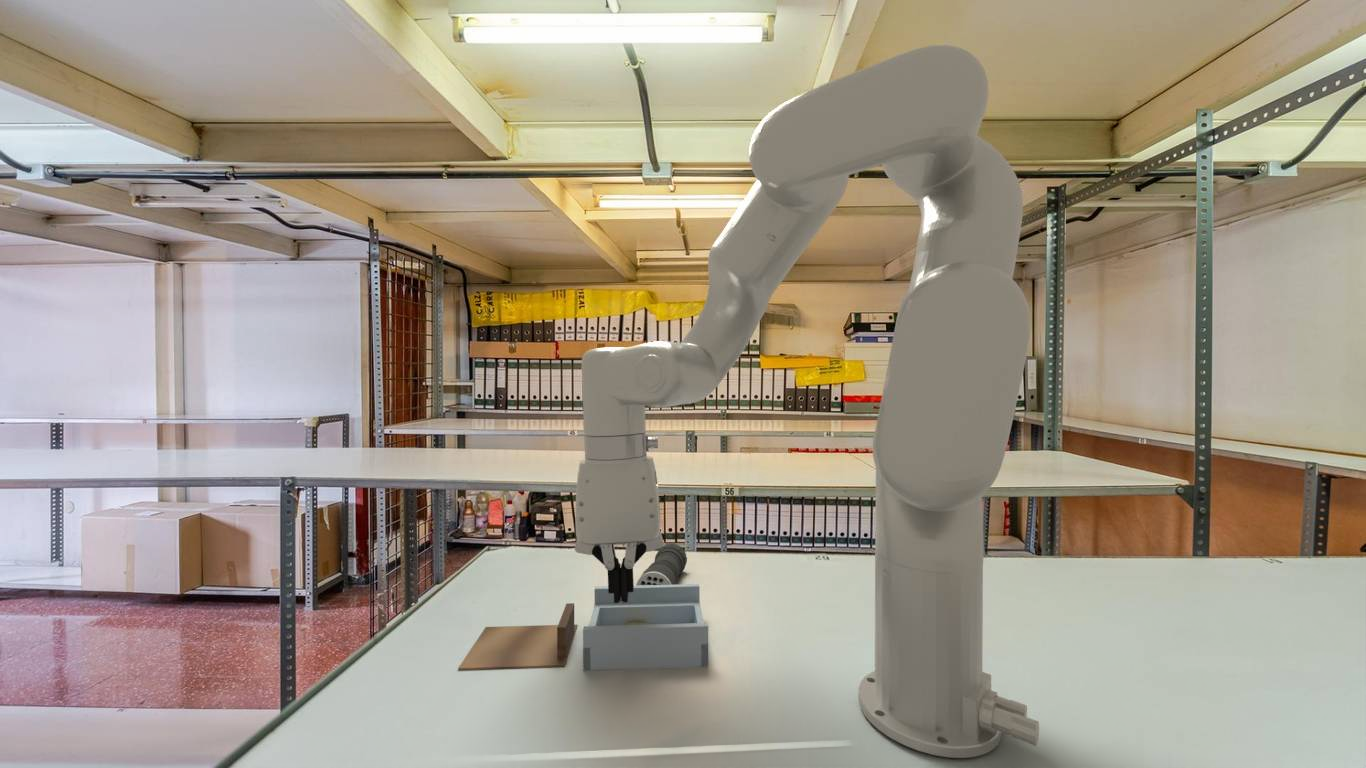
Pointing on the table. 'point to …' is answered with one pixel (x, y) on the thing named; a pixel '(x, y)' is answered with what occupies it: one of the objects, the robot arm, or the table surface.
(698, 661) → the light grey open box
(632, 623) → the brass disc
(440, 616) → the table surface
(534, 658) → the cover plate
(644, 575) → the flashlight
